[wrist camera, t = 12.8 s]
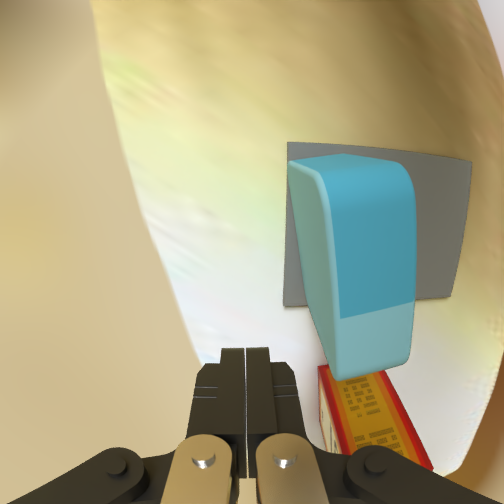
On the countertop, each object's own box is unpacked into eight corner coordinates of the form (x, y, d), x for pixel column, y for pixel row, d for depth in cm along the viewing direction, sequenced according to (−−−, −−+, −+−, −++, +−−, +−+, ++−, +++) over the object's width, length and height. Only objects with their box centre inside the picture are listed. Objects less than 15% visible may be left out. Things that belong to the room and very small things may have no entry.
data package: (353, 288, 27) (408, 374, 16) (304, 298, 28) (337, 393, 16) (340, 152, 23) (415, 164, 12) (284, 160, 24) (319, 176, 12)
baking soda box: (369, 409, 34) (408, 513, 19) (319, 420, 34) (343, 532, 19) (375, 354, 31) (435, 471, 16) (317, 366, 31) (353, 498, 16)
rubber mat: (287, 142, 24) (288, 142, 23) (468, 161, 24) (472, 161, 23) (282, 302, 28) (283, 306, 28) (447, 294, 29) (450, 296, 28)
